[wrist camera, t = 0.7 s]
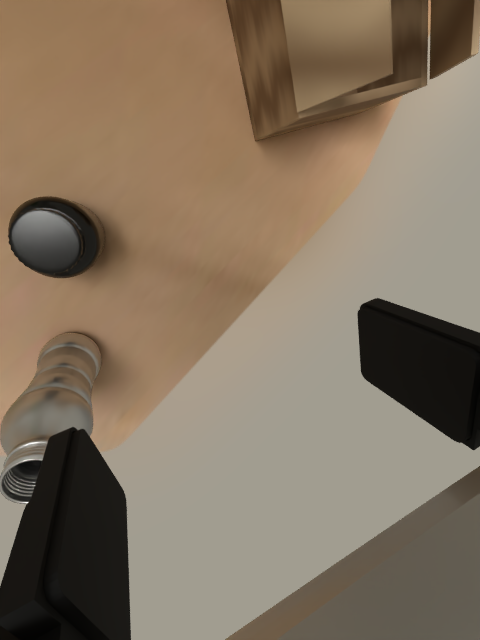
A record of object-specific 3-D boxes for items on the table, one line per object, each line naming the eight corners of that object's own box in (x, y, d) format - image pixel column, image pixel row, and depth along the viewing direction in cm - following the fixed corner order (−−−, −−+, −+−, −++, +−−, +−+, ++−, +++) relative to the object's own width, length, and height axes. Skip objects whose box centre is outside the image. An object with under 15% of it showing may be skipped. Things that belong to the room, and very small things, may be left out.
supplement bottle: (109, 210, 33) (105, 210, 22) (101, 270, 35) (93, 295, 24) (36, 191, 30) (-8, 180, 20) (31, 257, 32) (-12, 279, 21)
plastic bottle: (50, 381, 37) (-12, 536, 19) (36, 331, 34) (-50, 456, 17) (106, 371, 39) (96, 502, 21) (97, 323, 36) (77, 426, 19)
